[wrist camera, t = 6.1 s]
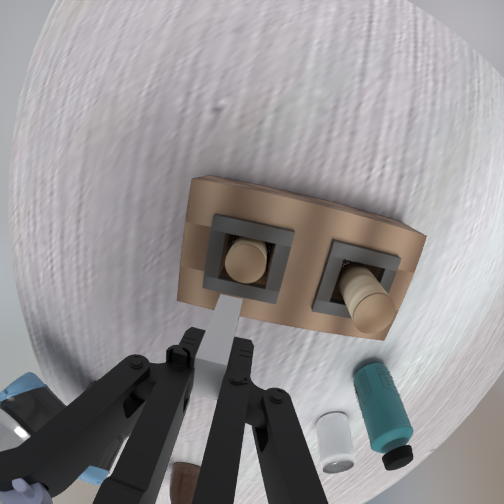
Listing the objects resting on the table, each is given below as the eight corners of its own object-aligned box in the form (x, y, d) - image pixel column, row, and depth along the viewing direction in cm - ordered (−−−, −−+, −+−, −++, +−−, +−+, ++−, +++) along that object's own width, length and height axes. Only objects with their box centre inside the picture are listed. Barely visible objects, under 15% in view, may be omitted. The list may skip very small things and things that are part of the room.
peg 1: (233, 253, 35) (222, 278, 27) (239, 223, 33) (228, 240, 26) (264, 260, 34) (261, 286, 27) (271, 230, 33) (269, 249, 26)
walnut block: (193, 277, 37) (174, 304, 30) (208, 175, 33) (188, 179, 25) (369, 313, 37) (386, 345, 29) (402, 222, 32) (431, 238, 25)
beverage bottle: (344, 369, 40) (367, 471, 21) (378, 349, 39) (417, 447, 20) (360, 388, 42) (383, 480, 23) (391, 369, 40) (427, 458, 21)
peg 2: (332, 291, 29) (346, 330, 22) (342, 258, 28) (363, 290, 21) (363, 297, 29) (384, 336, 22) (374, 265, 28) (402, 298, 21)
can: (335, 407, 44) (343, 457, 32) (353, 418, 45) (362, 464, 33) (309, 421, 45) (312, 470, 34) (328, 431, 46) (333, 476, 35)
